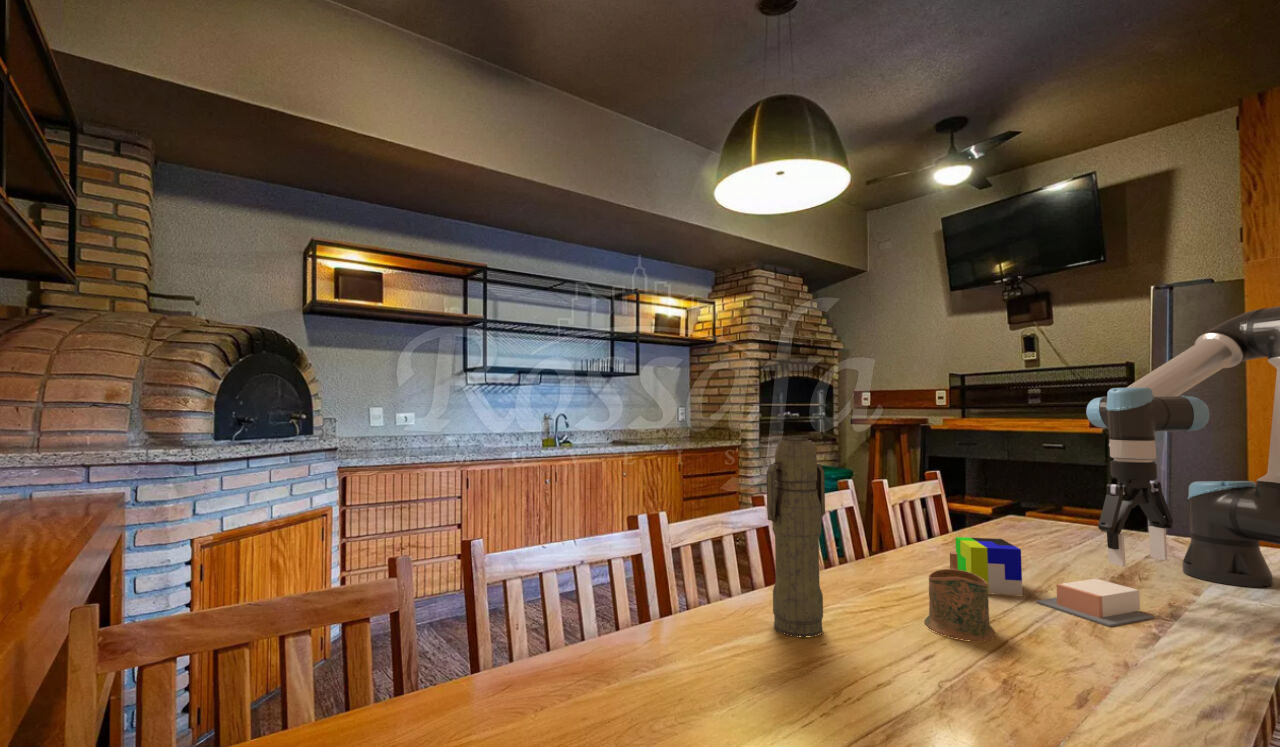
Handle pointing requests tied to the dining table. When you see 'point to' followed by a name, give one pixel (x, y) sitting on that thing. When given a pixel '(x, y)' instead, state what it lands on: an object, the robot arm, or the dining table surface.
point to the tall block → (1098, 597)
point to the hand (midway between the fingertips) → (1138, 561)
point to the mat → (1106, 621)
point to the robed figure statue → (796, 536)
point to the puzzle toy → (992, 563)
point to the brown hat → (959, 604)
